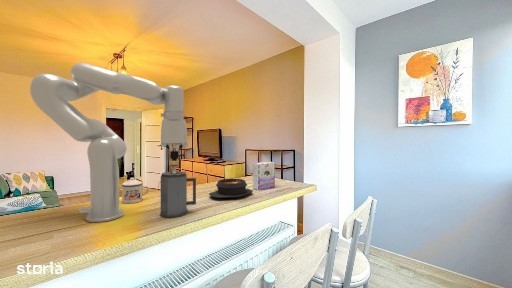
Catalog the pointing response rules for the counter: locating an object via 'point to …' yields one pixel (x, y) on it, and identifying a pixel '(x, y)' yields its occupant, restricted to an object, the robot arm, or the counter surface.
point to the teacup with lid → (132, 191)
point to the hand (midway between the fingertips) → (174, 160)
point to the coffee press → (175, 194)
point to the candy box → (263, 175)
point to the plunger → (174, 165)
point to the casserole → (231, 189)
